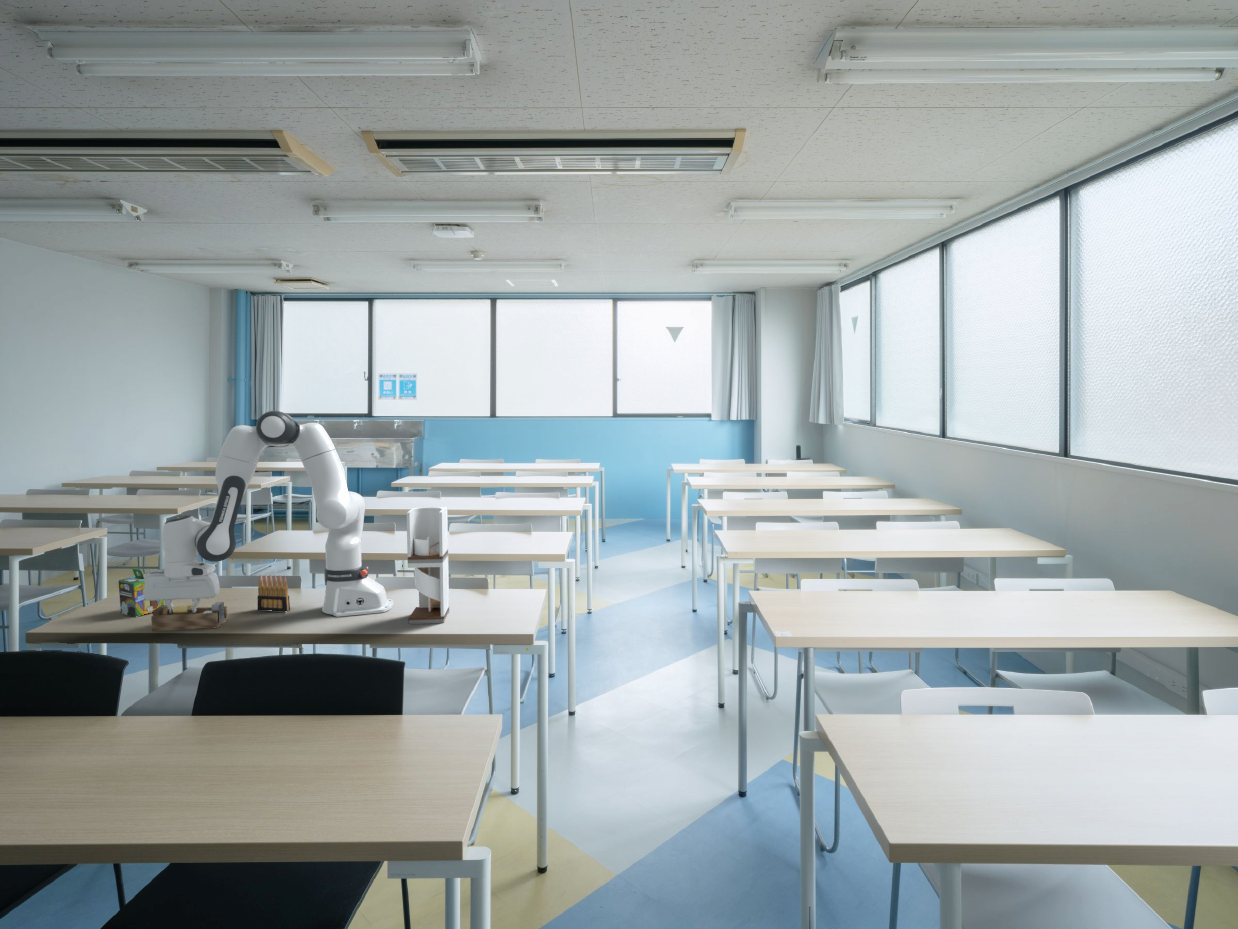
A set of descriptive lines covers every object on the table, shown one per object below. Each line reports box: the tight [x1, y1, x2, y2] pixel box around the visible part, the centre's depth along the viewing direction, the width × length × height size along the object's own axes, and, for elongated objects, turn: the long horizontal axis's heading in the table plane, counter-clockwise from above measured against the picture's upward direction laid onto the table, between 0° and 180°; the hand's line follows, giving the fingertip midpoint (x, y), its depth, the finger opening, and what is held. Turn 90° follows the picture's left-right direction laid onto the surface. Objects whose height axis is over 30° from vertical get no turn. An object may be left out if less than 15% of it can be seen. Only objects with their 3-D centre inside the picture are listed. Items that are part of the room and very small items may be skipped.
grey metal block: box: [203, 601, 225, 623], centre depth 211 cm, size 5×4×6 cm
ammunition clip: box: [257, 574, 291, 612], centre depth 226 cm, size 11×2×12 cm, turn 81°
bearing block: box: [150, 604, 228, 632], centre depth 210 cm, size 18×8×6 cm, turn 100°
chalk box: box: [118, 567, 165, 618], centre depth 224 cm, size 9×9×15 cm
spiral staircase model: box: [406, 506, 450, 625], centre depth 217 cm, size 11×11×35 cm
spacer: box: [173, 602, 194, 615], centre depth 210 cm, size 4×4×4 cm
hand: (183, 612), depth 209 cm, fingers closed on spacer, 4 cm apart
